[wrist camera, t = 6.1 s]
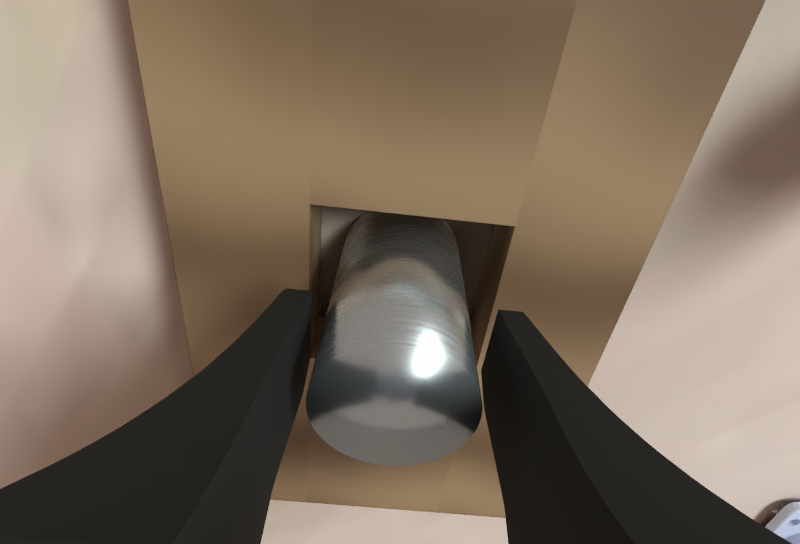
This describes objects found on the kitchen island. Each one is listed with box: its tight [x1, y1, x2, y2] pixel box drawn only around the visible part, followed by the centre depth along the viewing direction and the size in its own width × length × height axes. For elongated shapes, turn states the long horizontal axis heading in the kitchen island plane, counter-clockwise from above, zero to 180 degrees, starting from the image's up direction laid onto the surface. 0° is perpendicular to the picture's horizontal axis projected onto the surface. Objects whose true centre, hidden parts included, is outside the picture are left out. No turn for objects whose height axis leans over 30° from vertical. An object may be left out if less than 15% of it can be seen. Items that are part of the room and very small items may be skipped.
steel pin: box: [306, 211, 483, 466], centre depth 12 cm, size 4×4×6 cm
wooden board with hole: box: [128, 0, 765, 518], centre depth 14 cm, size 20×12×2 cm, turn 174°
